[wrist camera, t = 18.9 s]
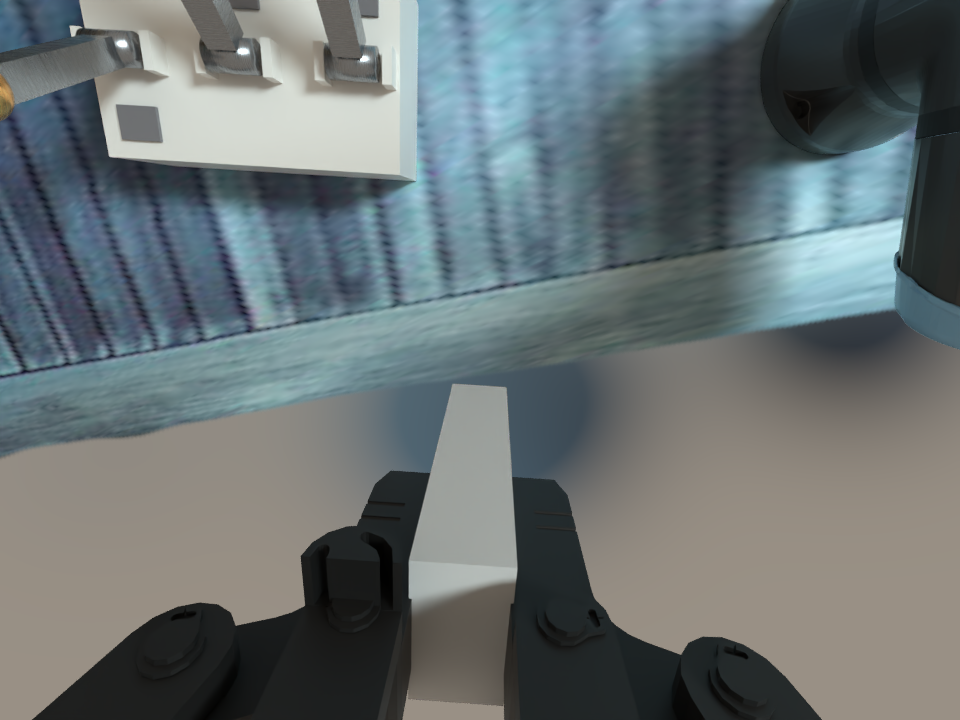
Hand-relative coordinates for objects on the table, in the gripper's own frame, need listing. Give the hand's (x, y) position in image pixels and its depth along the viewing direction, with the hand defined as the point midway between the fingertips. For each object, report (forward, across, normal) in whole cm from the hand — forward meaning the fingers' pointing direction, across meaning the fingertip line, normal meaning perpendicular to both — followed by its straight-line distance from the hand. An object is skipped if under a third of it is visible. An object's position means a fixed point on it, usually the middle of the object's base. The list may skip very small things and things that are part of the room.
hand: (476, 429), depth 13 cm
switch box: (+34, -19, +15) cm, 42 cm away
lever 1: (+26, -28, +16) cm, 41 cm away
